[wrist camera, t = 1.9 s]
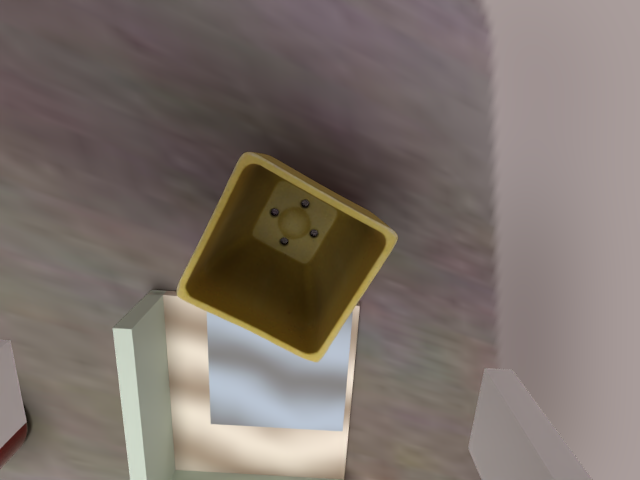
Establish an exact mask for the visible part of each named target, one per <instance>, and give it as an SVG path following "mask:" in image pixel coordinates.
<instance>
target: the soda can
mask: <svg viewBox="0 0 640 480" xmlns="http://www.w3.org/2000/svg"><path fill="white" fill-rule="evenodd" d="M26 421H27V420H26ZM26 436H27V422H26V423H25V424H24V425H23V426H22V427H21V428H20V429H19V430H18V431H17V432H16V433H15V434H14V435H13V436H12V437H11V438H10V439H9V440H8V441H7V442H6V443H5V444H4V445H3V446H2V447H1V448H0V469H1V468H2V467H3V466H4V465H5V464H6V463H7V461H8V460H9V459H10V458H11V457H12V456H13V455H14V454H15V453H16V452H17V451H18V450H19V449H20V447H21V446H22V445H23V443H24V441H25V439H26Z"/></svg>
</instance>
